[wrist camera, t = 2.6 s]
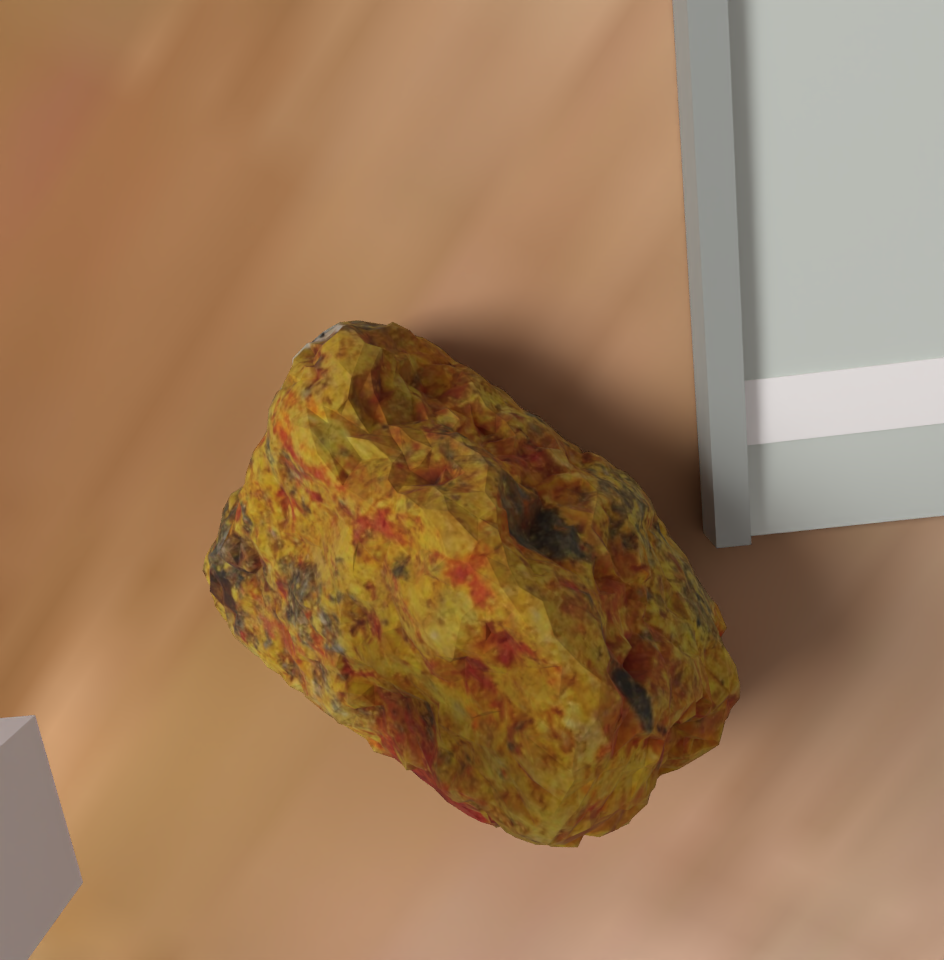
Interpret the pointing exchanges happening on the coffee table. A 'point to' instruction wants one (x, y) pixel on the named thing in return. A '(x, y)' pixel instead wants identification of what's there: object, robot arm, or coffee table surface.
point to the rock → (469, 590)
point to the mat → (814, 259)
